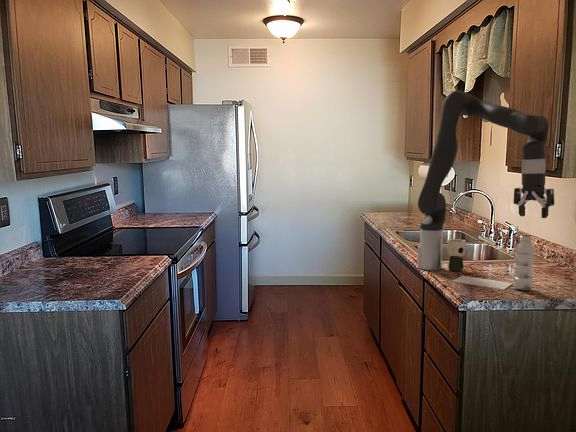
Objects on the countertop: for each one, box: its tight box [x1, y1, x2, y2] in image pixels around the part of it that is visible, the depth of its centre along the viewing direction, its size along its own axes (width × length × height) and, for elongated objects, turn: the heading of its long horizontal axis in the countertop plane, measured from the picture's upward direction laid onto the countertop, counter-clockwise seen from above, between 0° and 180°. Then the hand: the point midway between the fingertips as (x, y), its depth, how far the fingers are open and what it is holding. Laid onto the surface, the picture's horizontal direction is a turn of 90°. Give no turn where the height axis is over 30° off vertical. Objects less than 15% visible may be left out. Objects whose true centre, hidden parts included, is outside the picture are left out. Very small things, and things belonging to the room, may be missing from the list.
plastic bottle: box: [512, 234, 535, 291], centre depth 172 cm, size 6×7×20 cm
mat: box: [452, 275, 513, 291], centre depth 183 cm, size 19×10×1 cm, turn 49°
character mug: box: [447, 238, 467, 272], centre depth 202 cm, size 11×7×13 cm, turn 133°
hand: (533, 217), depth 172 cm, fingers open, 8 cm apart
